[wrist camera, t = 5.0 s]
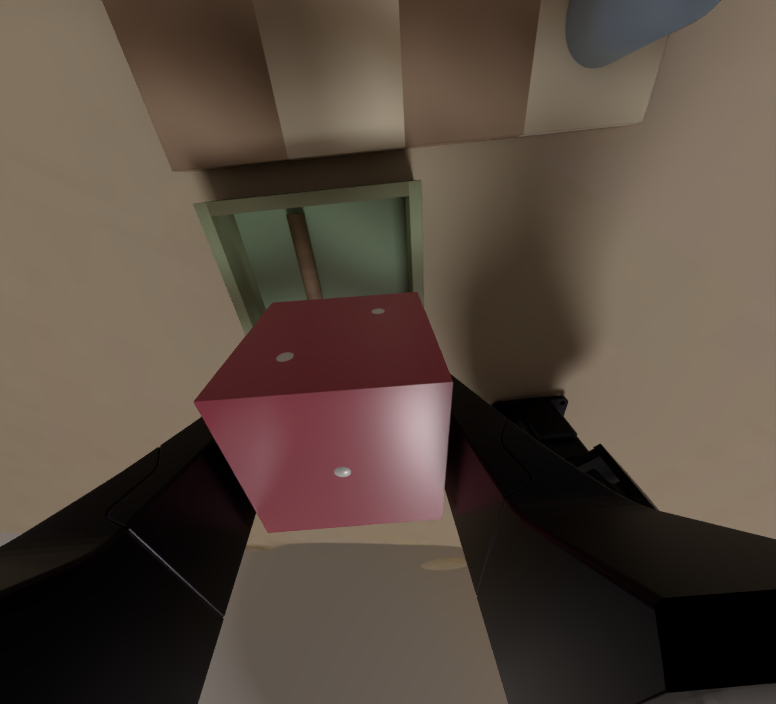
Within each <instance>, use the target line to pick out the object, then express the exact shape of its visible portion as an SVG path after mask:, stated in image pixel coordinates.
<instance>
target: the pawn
mask: <svg viewBox="0 0 776 704" xmlns="http://www.w3.org/2000/svg"><path fill="white" fill-rule="evenodd" d="M720 1H721V0H570V3H569V6H568V11H567V16H566V26H565V33H566V42H567V46H568V49H569V52H570V54H571V56H572V57H573V59H574V60H575V61H576V62H577V63H578V64H580V65H581V66H583V67H586V68H601V67H604V66H606V65H608V64H610V63H612V62H615V61H617V60H619V59H621V58H623V57H625V56H627V55H629V54H631V53H633V52H635V51H637V50H639V49H641V48H643V47H645V46H647V45H649V44H651V43H653V42H655V41H657V40H659V39H661V38H663V37H665V36H667V35H669V34H671V33H673V32H675V31H677V30H679V29H681V28H683V27H685V26H687V25H689V24H691V23H693V22H695V21H697V20H698V19H700V18H701V17H703V16H704V15H706V14H707V13H708V12H709V11H710V10H712V9H713V8H714V7H715V6H716V5H717V4H718V3H719V2H720Z"/></svg>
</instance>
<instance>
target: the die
mask: <svg viewBox="0 0 776 704" xmlns="http://www.w3.org/2000/svg"><path fill="white" fill-rule="evenodd" d="M452 389H453V380H452V378H451V375H450V373H449V370H448V368H447V365H446V363H445V360H444V358H443V355H442V353H441V350H440V348H439V345H438V342H437V340H436V337H435V335H434V332H433V330H432V327H431V325H430V322H429V320H428V317H427V315H426V312H425V310H424V307H423V304H422V302H421V299H420V297H419V294H418V292H409V293H395V294H382V295H368V296H355V297H341V298H327V299H314V300H300V301H287V302H273V303H271V305H270V306H269V307H268V308H267V310H266V311H265V312H264V313H263V315H262V316H261V317H260V318H259V320H258V321H257V322H256V323H255V325H254V326H253V327H252V329H251V330H250V331H249V332H248V334H247V335H246V336H245V337H244V339H243V340H242V341H241V342H240V344H239V345H238V346H237V347H236V349H235V350H234V351H233V353H232V354H231V355H230V356H229V358H228V359H227V360H226V361H225V363H224V364H223V365H222V366H221V368H220V369H219V370H218V371H217V373H216V374H215V375H214V376H213V378H212V379H211V380H210V382H209V383H208V384H207V385H206V387H205V388H204V389H203V390H202V392H201V393H200V394H199V395H198V397H197V398H196V399H195V400H194V404H195V406H196V407H197V409H198V411H199V413H200V414H201V416H202V418H203V420H204V421H205V423H206V425H207V427H208V428H209V430H210V432H211V434H212V435H213V437H214V439H215V441H216V442H217V444H218V446H219V448H220V449H221V451H222V453H223V455H224V456H225V458H226V460H227V462H228V463H229V465H230V467H231V469H232V471H233V472H234V474H235V476H236V478H237V479H238V481H239V483H240V485H241V486H242V488H243V490H244V492H245V493H246V495H247V497H248V499H249V500H250V502H251V504H252V506H253V507H254V509H255V511H256V513H257V514H258V516H259V518H260V520H261V521H262V523H263V525H264V527H265V528H266V530H267V532H268V533H273V532H285V531H298V530H310V529H322V528H334V527H347V526H359V525H371V524H383V523H396V522H408V521H420V520H433V519H442V511H443V499H444V486H445V474H446V462H447V450H448V438H449V425H450V413H451V401H452Z"/></svg>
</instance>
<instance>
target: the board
mask: <svg viewBox="0 0 776 704" xmlns="http://www.w3.org/2000/svg"><path fill="white" fill-rule="evenodd" d="M102 1H103V4H104V6H105V9H106V11H107V13H108V16H109V18H110V21H111V23H112V26H113V28H114V30H115V33H116V35H117V38H118V40H119V43H120V45H121V47H122V50H123V52H124V55H125V57H126V60H127V62H128V64H129V67H130V69H131V72H132V74H133V76H134V79H135V81H136V84H137V86H138V89H139V91H140V93H141V96H142V98H143V101H144V103H145V106H146V108H147V110H148V113H149V115H150V118H151V120H152V123H153V125H154V127H155V130H156V132H157V135H158V137H159V139H160V142H161V144H162V147H163V149H164V152H165V154H166V156H167V159H168V161H169V164H170V166H171V169H172V171H180V172H186V171H195V170H205V169H214V168H224V167H234V166H243V165H253V164H262V163H272V162H282V161H291V160H301V159H310V158H320V157H330V156H339V155H349V154H358V153H368V152H378V151H387V150H397V149H406V148H416V147H426V146H435V145H445V144H454V143H464V142H474V141H483V140H493V139H502V138H512V137H521V136H531V135H541V134H550V133H560V132H569V131H579V130H589V129H598V128H608V127H617V126H627V125H632V124H636V123H641V122H643V120H644V116H645V113H646V110H647V106H648V103H649V100H650V96H651V93H652V90H653V87H654V83H655V80H656V77H657V73H658V70H659V67H660V64H661V60H662V57H663V54H664V50H665V47H666V44H667V41H668V37H669V35H667V36H665V37H663V38H661V39H659V40H657V41H655V42H653V43H651V44H649V45H647V46H645V47H643V48H641V49H639V50H637V51H635V52H633V53H631V54H629V55H627V56H625V57H623V58H621V59H619V60H617V61H615V62H612V63H610V64H608V65H606V66H604V67H601V68H586V67H583V66H581V65H580V64H578V63H577V62H576V61H575V60H574V59H573V57H572V56H571V54H570V52H569V49H568V46H567V42H566V33H565V26H566V16H567V11H568V6H569V3H570V0H102Z"/></svg>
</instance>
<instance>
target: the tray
mask: <svg viewBox="0 0 776 704" xmlns="http://www.w3.org/2000/svg"><path fill="white" fill-rule="evenodd" d="M193 205H194V208H195V210H196V212H197V215H198V217H199V220H200V222H201V225H202V227H203V230H204V232H205V235H206V237H207V240H208V242H209V245H210V247H211V250H212V252H213V255H214V257H215V260H216V262H217V265H218V267H219V270H220V272H221V275H222V277H223V280H224V282H225V285H226V287H227V290H228V292H229V295H230V297H231V300H232V302H233V305H234V307H235V310H236V312H237V315H238V317H239V320H240V322H241V325H242V327H243V330H244V332H245V335H247V334H248V332H249V331H250V330H251V329H252V327H253V326H254V325H255V323H256V322H257V321H258V320H259V318H260V317H261V316H262V315H263V313H264V312H265V311H266V310H267V308H268V307H269V306H270V305H271V303H273V302H287V301H300V300H314V299H327V298H341V297H355V296H368V295H382V294H395V293H409V292H418V294H419V297H420V299H421V302H422V304H423V307H424V284H423V237H422V191H421V180H412V181H403V182H393V183H383V184H373V185H364V186H354V187H344V188H334V189H325V190H315V191H305V192H296V193H286V194H276V195H266V196H257V197H247V198H237V199H227V200H219V201H211V202H203V203H196V204H193Z"/></svg>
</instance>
